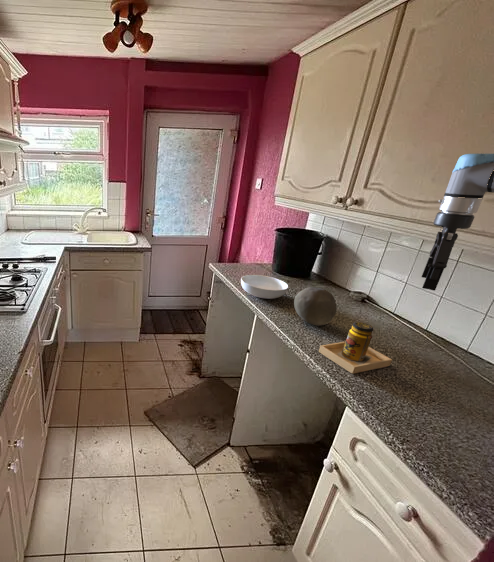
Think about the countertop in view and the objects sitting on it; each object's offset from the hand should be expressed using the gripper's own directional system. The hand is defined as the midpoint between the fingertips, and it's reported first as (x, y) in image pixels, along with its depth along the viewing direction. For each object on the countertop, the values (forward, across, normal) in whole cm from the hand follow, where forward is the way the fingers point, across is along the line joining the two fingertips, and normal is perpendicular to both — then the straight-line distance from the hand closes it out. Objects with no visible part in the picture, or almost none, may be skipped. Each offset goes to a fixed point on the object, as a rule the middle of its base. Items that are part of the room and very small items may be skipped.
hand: (427, 283), depth 95 cm
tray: (+27, +11, -11) cm, 31 cm away
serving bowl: (+26, -22, -52) cm, 62 cm away
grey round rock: (+27, -6, -28) cm, 39 cm away
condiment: (+27, +10, -11) cm, 31 cm away
